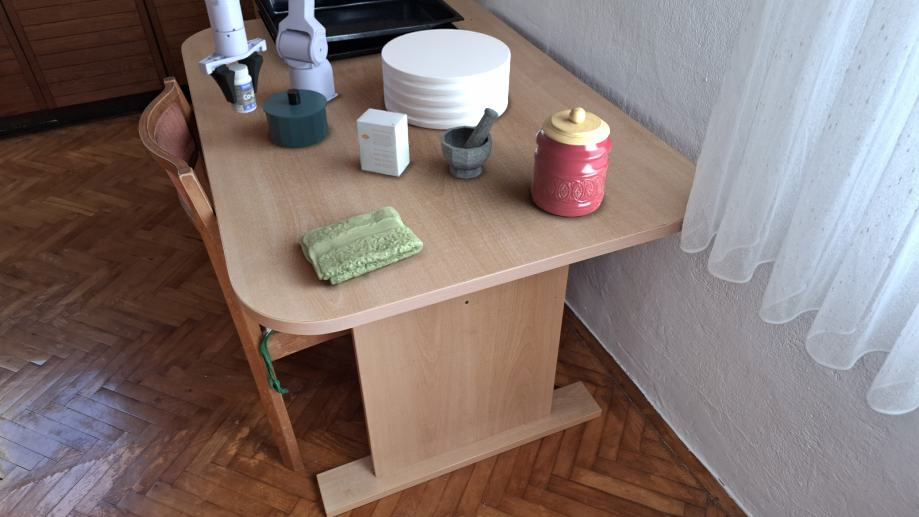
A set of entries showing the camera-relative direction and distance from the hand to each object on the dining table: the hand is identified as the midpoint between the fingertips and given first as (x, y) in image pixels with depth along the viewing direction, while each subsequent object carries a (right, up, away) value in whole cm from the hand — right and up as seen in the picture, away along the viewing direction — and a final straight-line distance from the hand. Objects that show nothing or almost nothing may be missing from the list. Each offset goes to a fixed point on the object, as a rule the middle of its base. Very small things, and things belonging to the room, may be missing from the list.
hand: (242, 97), depth 127 cm
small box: (+28, -14, -1) cm, 31 cm away
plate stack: (+39, +5, +23) cm, 45 cm away
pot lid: (+9, 0, +5) cm, 10 cm away
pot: (+9, -5, +9) cm, 14 cm away
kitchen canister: (+62, -21, -8) cm, 65 cm away
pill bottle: (0, -2, +2) cm, 3 cm away
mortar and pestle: (+44, -14, -1) cm, 46 cm away
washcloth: (+26, -30, -21) cm, 45 cm away
